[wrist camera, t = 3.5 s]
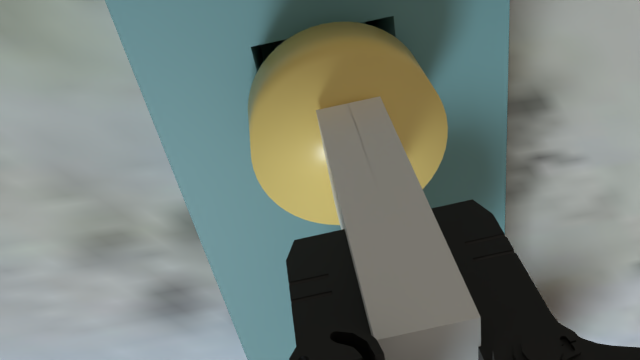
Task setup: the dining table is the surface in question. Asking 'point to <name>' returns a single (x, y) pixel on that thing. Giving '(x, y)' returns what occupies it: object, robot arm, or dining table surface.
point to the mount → (233, 126)
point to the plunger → (331, 90)
